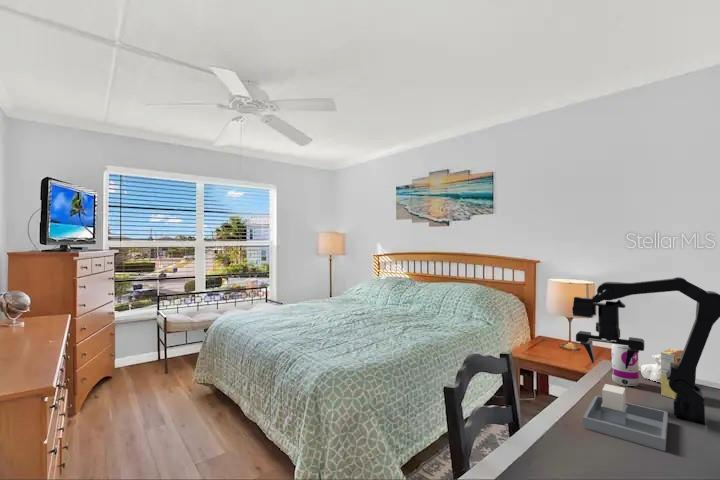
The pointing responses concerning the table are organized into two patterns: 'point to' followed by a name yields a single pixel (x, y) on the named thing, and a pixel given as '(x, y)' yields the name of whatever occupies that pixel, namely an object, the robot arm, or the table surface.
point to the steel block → (614, 415)
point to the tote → (631, 424)
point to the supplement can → (618, 366)
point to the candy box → (666, 358)
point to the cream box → (614, 397)
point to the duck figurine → (652, 369)
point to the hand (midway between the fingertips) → (609, 365)
